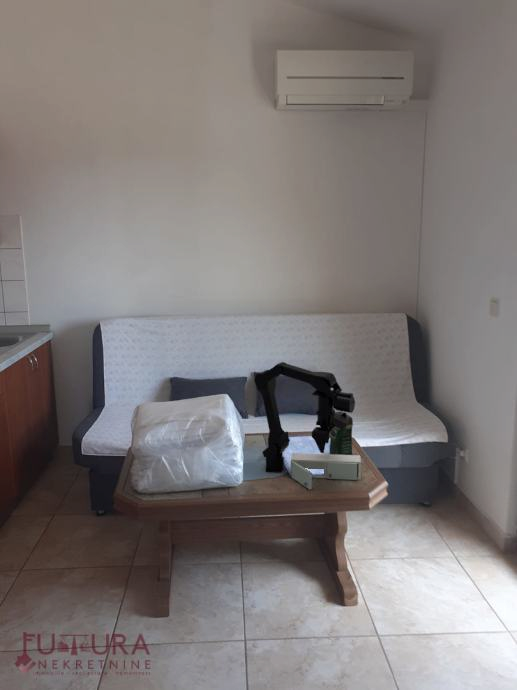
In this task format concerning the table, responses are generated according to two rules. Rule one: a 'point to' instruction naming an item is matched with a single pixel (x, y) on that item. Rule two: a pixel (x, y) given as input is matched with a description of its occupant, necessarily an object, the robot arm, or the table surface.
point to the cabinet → (331, 465)
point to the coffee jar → (341, 439)
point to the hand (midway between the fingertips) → (324, 447)
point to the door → (301, 475)
